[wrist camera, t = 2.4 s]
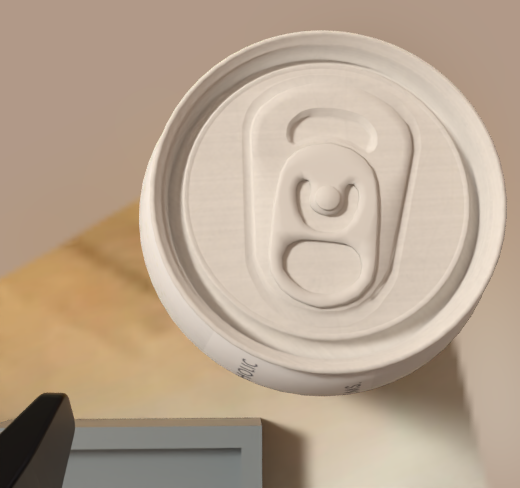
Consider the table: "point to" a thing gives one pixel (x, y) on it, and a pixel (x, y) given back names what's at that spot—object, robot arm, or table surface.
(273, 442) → the table surface
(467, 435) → the table surface
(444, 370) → the table surface
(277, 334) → the beer can
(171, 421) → the tray
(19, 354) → the table surface
